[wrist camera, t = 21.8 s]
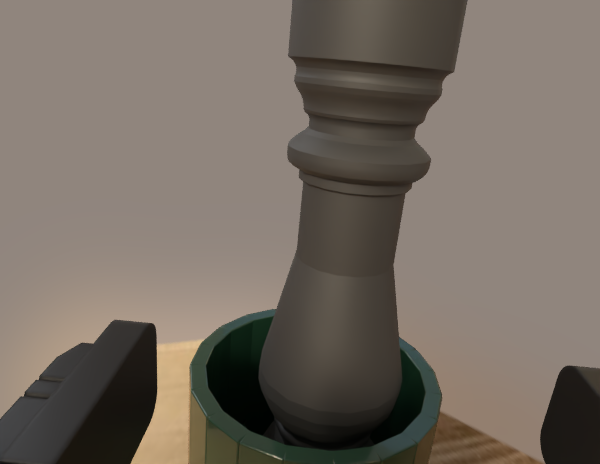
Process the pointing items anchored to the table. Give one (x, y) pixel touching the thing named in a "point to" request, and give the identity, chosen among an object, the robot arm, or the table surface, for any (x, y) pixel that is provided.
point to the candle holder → (352, 211)
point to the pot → (258, 417)
